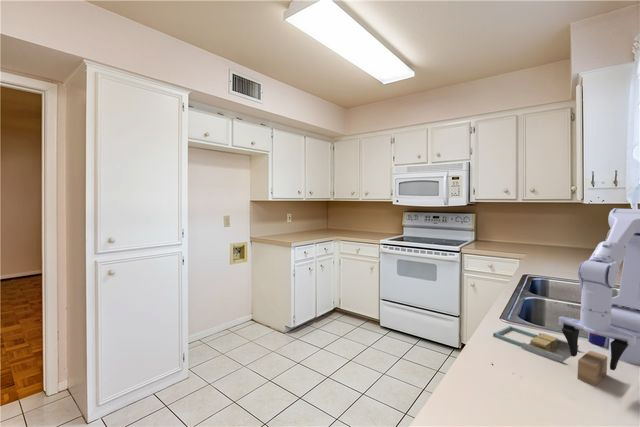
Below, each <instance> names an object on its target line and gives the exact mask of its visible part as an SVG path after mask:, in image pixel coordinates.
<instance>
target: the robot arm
mask: <svg viewBox="0 0 640 427" xmlns="http://www.w3.org/2000/svg"><path fill="white" fill-rule="evenodd" d="M607 221H608V226H609V227H610V228H609V229H610V231H609V234H608V235H607V239H606V240H604V241H601V242H599V243H598V244H597V246H596V248H595V249H594V251H593V252H592V254H591V255H590V257H589V259H587V260H585V261H581V262H580V264H579V266H578V270H577V278H578V281H579V282H578V283H579V286H578V287H579V289H581V297H580V313H579V314H580V317H579V318H580V319H576V318H572V317H566V316H559V317H558V325H559V326H562V328H561V332H562V334H563V335H564V338H565V340H566V341H567V342H568V345H569V348H570V352H571V356H570V357H574V358H575V357H576V356H578V352H579V346H578V345H579V344H578V340H579V333H580V331H584V332H586V333H588V334H589V333H593V334H596V335H600V336H603V337H607V338H609V347H608V354H609V356H610V362H609V370H611V371H615V370H617V366H618V363H619V361H621V362H625V363H629V364H635V365H640V209H638V208H619V207H618V208H617V207H614V208H613V209H611V210H610V212H609V214H608V220H607ZM622 263H623V264H622ZM621 264H622V269H621V270H620V266H621ZM620 272H621V276H620V284H619V290H618V295H616V296H613V289H614V288H615V287H616V286H617V283H618V280H619V275H620ZM622 306H623V307H622Z"/></svg>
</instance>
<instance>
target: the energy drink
mask: <svg viewBox="0 0 640 427" xmlns="http://www.w3.org/2000/svg"><path fill="white" fill-rule="evenodd" d="M587 342H588V343H590V344H592V345H594V346H597V347H602V348H609V338H607V337H603V336H600V335H596V334H593V333H589V332H588V339H587Z"/></svg>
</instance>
